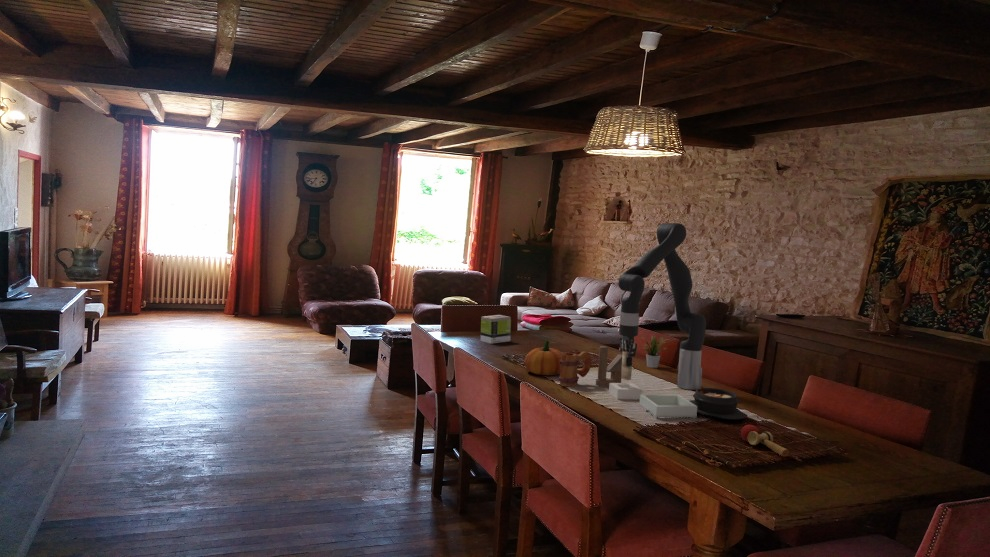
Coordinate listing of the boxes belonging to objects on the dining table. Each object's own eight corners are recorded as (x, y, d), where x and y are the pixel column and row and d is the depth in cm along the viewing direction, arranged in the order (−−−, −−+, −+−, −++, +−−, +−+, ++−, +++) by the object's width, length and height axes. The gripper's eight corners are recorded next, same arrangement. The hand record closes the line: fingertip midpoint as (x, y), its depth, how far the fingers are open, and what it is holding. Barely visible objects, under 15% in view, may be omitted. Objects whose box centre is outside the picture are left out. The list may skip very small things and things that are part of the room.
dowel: (628, 377, 266) (630, 351, 265) (632, 380, 262) (634, 353, 261) (619, 377, 266) (621, 351, 265) (623, 380, 262) (624, 353, 261)
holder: (631, 394, 270) (632, 383, 270) (640, 401, 261) (641, 389, 260) (608, 394, 269) (609, 383, 268) (617, 401, 259) (617, 389, 258)
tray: (677, 405, 257) (678, 394, 256) (696, 418, 241) (697, 406, 241) (639, 405, 254) (640, 394, 254) (655, 418, 238) (656, 406, 238)
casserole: (673, 408, 254) (674, 387, 253) (706, 403, 263) (707, 382, 262) (724, 426, 232) (726, 404, 232) (758, 420, 242) (760, 398, 241)
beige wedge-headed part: (621, 387, 281) (623, 347, 280) (599, 389, 278) (602, 347, 276) (616, 385, 285) (619, 345, 283) (595, 386, 281) (597, 346, 279)
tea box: (499, 338, 385) (500, 314, 383) (510, 341, 377) (511, 316, 376) (479, 341, 375) (480, 315, 374) (490, 344, 367) (491, 318, 366)
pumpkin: (520, 375, 296) (522, 343, 295) (528, 366, 315) (529, 336, 313) (562, 379, 292) (564, 346, 290) (567, 370, 310) (569, 339, 309)
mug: (561, 389, 275) (563, 354, 273) (554, 384, 283) (556, 350, 281) (593, 388, 279) (595, 353, 277) (585, 383, 287) (587, 349, 285)
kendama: (794, 460, 205) (752, 434, 221) (796, 442, 203) (753, 417, 220) (775, 467, 203) (734, 440, 219) (777, 449, 201) (735, 423, 217)
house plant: (675, 369, 321) (677, 337, 320) (651, 371, 316) (653, 338, 315) (657, 363, 335) (659, 332, 333) (635, 364, 329) (637, 333, 328)
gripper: (644, 326, 255) (642, 369, 257) (631, 320, 269) (629, 361, 271) (626, 326, 254) (624, 369, 256) (614, 320, 268) (612, 361, 270)
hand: (626, 364), depth 263 cm, fingers closed on dowel, 4 cm apart
